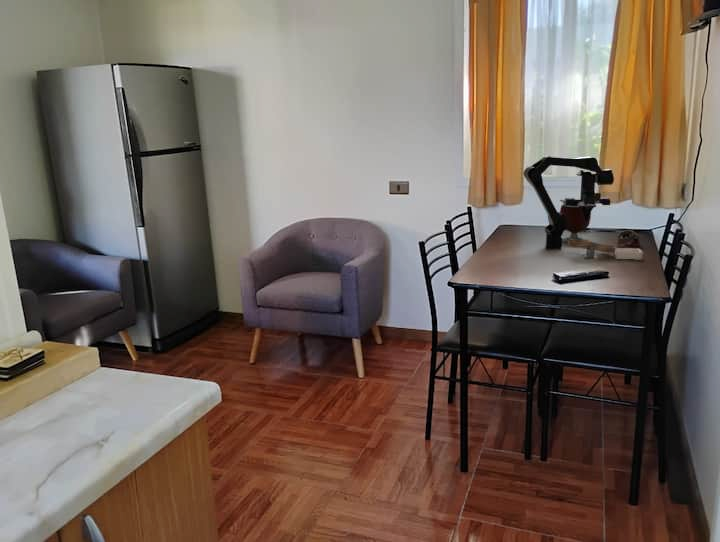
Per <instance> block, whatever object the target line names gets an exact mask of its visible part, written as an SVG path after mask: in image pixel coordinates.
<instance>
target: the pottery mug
mask: <svg viewBox="0 0 720 542" xmlns="http://www.w3.org/2000/svg"><path fill="white" fill-rule="evenodd" d="M616 237H617V239H616V245H617V246H618V247H620V245H626V244H630V245H638V246H639V247H641V241H640V239H639V237H640V236H639V235H638V234H637V233H636V232H635V231H634V230H632V229H627V230H623V231H621V232H619V233H618V234H617V236H616ZM621 237H622V238H621Z"/></svg>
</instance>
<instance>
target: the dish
mask: <svg viewBox="0 0 720 542" xmlns="http://www.w3.org/2000/svg"><path fill="white" fill-rule="evenodd" d="M615 248H616V247H615ZM633 249H634V248H629V247H628V248H625V247H624V248H618V247H617V248H616V249H615V253H612V256H614V257H615V258H616V259H635V260H634V261H643V260H644V252H643V251H642V249H640V248H635V249H636V250H637V251H638V252H631V251H632V250H633ZM614 257H613V258H614ZM615 258H614V259H615ZM616 259H615V260H616Z"/></svg>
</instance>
